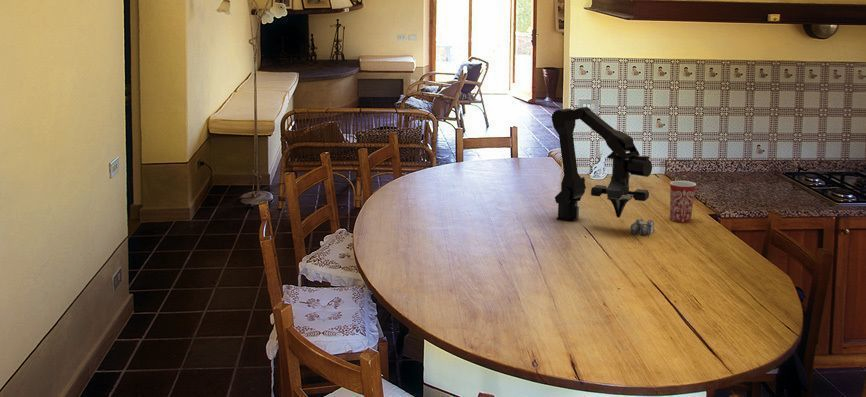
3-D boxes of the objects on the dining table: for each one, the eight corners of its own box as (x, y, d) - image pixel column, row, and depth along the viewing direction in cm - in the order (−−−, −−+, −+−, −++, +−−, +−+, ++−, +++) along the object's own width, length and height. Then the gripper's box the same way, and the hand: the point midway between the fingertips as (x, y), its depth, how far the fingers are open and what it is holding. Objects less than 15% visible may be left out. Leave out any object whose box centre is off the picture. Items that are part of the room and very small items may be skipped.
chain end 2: (640, 235, 294) (640, 225, 294) (646, 229, 302) (647, 219, 301) (647, 236, 293) (648, 226, 292) (654, 230, 301) (654, 220, 300)
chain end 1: (629, 234, 296) (630, 224, 295) (636, 227, 304) (637, 218, 303) (637, 235, 295) (637, 225, 294) (643, 228, 303) (644, 219, 302)
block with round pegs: (632, 232, 298) (633, 220, 298) (635, 230, 302) (635, 218, 301) (650, 234, 296) (651, 222, 295) (652, 232, 299) (653, 220, 298)
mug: (696, 223, 310) (698, 186, 306) (670, 223, 310) (672, 185, 307) (688, 214, 322) (691, 178, 319) (663, 214, 322) (665, 178, 319)
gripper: (586, 174, 295) (585, 219, 298) (642, 179, 287) (639, 226, 290) (596, 168, 304) (594, 212, 308) (650, 173, 296) (647, 218, 300)
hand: (618, 217), depth 301 cm, fingers closed
